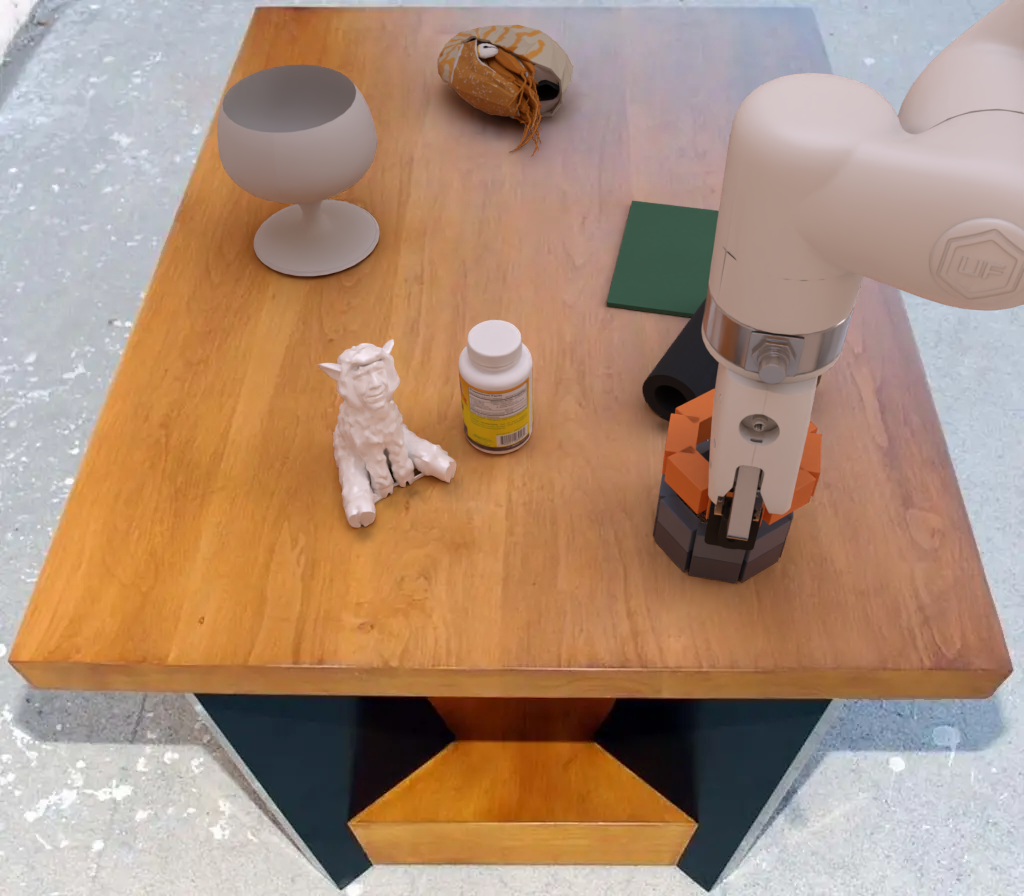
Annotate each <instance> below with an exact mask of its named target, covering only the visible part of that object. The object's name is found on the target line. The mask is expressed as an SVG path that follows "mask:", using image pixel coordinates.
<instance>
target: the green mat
mask: <svg viewBox="0 0 1024 896" xmlns="http://www.w3.org/2000/svg"><path fill="white" fill-rule="evenodd" d="M718 213H719V210H715V209H709V208H708V209H707V208H698V207H690V206H683V205H674V204H666V203H658V202H657V203H656V202H650V201H649V202H648V201H639V200H631V204H630V207H629V211H628V215H627V219H626V224H625V227H624V231H623V236H622V239H621V244H620V247H619V251H618V255H617V258H616V259H617V260H616V263H615V267H614V270H613V271H614V272H613V275H612V279H611V283H610V287H609V291H608V296H607V298H606V305H605V306H606V307H610V308H617V309H625V310H633V311H639V312H647V313H653V314H654V313H655V314H662V315H669V316H677V317H683V318H684V317H685V318H690V319H691V317H692V316H693V315H694V313H695V312H696V311H697V309H698V308H699V307H700V305H701V304H702V302H703V301H704V300H705V298H706V295H707V289H708V282H709V276H710V268H711V261H712V255H713V249H714V241H715V234H716V226H717V219H718Z"/></svg>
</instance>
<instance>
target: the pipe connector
mask: <svg viewBox="0 0 1024 896" xmlns="http://www.w3.org/2000/svg"><path fill="white" fill-rule="evenodd" d="M705 302H706V298H705V300H704V301H703V302H702V304H701V305H700V307H699V308H698V309H697V311H696V312H695V313H694V315H693V316H692V317H691V318H690V319H689V320H688V321H687V323H685V325H684V327H683V328H682V329H681V331H680V332H679V334H678V335H677V336H676V338H675V339H674V341H673V342H672V343H671V344H670V346H669V348H668V349H667V350H666V351H665V353H664V354H663V355H662V357H660V360H659V361H658V362H657V364H656V365H655V366H654V367H653V369H652V370H651V372H650V373H649V375H648V376H647V377H646V379H645V380H644V382H643V384H642V387H641V388H642V389H641V390H642V391H641V392H642V396H643V398H644V401H645V403H646V404H647V406H648V407H649V408H650V409H651V410H652V411H653V412H654V413H655V414H657V415H658V416H659V417H661V418H662V419H663V420H666V421H670V415H671V413H673V414H675V410H676V408H677V407H679V406H681V405H683V404H685V403H687V402H689V401H691V400H693V399H695V398H697V397H699V396H701V395H703V394H705V393H706V392H708V391H710V390H712V389H715V386H716V378H717V371H718V365H719V362H718V361H717V360H716V359H715V358H714V357H713V356H712V355H711V354H710V353H709V351H708V350H707V348H706V346H705V343H704V342H703V338H702V323H703V316H704V309H705ZM822 376H823V374H822V375H819V376H818V379H817V385H816V389H817V388H818V386H819V384H820V383H821V379H822Z"/></svg>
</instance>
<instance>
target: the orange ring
mask: <svg viewBox="0 0 1024 896" xmlns="http://www.w3.org/2000/svg"><path fill="white" fill-rule="evenodd" d="M714 394H715V389H712V390H710V391H708V392H706V393H705V394H703V395H701V396H699V397H697V398H695V399H693V400H691V401H689V402H687V403H685V404H683V405H681V406H679V407H677V408H676V410H675V414H673V413H671V415H670V421H669V422H668V428H667V434H666V439H665V445H664V452H663V458H662V459H663V460H662V468H661V475H662V474H665V482H666V483H667V484H668V485H669V486H670V487H671V488H672V489H673V490H674V491H675V492H676V493H677V494H678V495H679V496H680V497H681V498H682V499H683V500H684V501H683V502H684V503H686V505H687V506H688V507H689V508H690V509H691V510H692V511H693V512H694V514H695V515H699V514H701V513H703V512H704V511H705V519H706V520H708V516H709V510H710V505H711V499H710V498H709V496H708V481H709V462H708V461H707V460H706V459H705V458H704V457H703V456H702V455H701V454H700V453H699V452H698V451H697V450H696V445H698V444H700V443H702V442H704V441H706V440H709V438H711V424H712V413H713V403H714ZM822 436H823V435H822V433H818V426H817V425H815V423H813V422H812V421H811V420H810V423H809V427H808V432H807V437H806V441H805V446H804V450H803V454H802V459H801V463H800V467H799V472H798V476H797V480H796V485H795V489H794V494H793V499H792V503H791V508H790V509H789V510H788V511H787V512H786V513H785V514H783V515H779V514H772V513H769V512H768V510H767V508H766V506H765V503H764V501H763V505H762V507H763V514H762V518H761V521H762V519H763V520H764V521H765V522H766V523H767V524H768V525H771V524H772V523H774V522H776V521H777V520H779V519H781V518H783V517H784V516H786V515H788V514H790V513H791V512H793V511H794V512H795V511H797V510H798V509H800V508H802V507H804V506H805V505H807V504H809V503H810V501H811V497H814V495H815V492H816V488H817V485H818V483H819V479H820V476H821V469H822V468H821V465H822ZM726 496H729V497H733V492H727V495H726ZM760 525H761V522H760ZM759 527H760V526H759Z"/></svg>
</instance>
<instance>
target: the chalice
mask: <svg viewBox="0 0 1024 896" xmlns="http://www.w3.org/2000/svg"><path fill="white" fill-rule="evenodd" d="M216 122H217V123H216V137H217V148H218V156H219V160H220V162H221V165H222V167H223V169H224V171H225V173H226V174H227V176H228V177H229V178H230V180H231V181H233V183H234V184H236V186H237V187H239V188H240V189H242V191H243V190H244V192H246V193H248V194H249V195H251V196H253V197H254V198H258V199H261V200H264V201H268V202H273V203H277V204H282V205H289V206H287V207H283V208H282V209H280V210H278V211H276V212H274V213H273V214H271V215H270V216H269V217H268V218H267V219H266V220H264V221H263V222H262V224H260V226H259V227H258V229H257V230H256V231H255V235H254V238H253V249H254V252H255V254H256V257H257V258H258V259H259V260H260V261H261V262H262V264H264V265H265V266H266V267H268V268H270V269H271V270H274V271H276V272H279V273H282V274H285V275H291V276H295V277H317V276H325V275H331V274H333V273H338V272H341V271H344V270H347V269H348V268H351V267H353V266H356V265H357V264H358V263H360V262H361V261H363V260H364V259H366V258H367V257H368V256H369V255H370V254H371V253H372V252H373V251H374V249H375V248H376V246H377V244H378V243H379V238H380V234H381V232H380V225H379V224H378V222H377V219H376V218H375V216H373V215H372V214H371V212H369V211H368V210H366V209H364V208H363V207H361V206H359V205H357V204H354V203H351V202H348V201H344V200H337V199H330V198H334V197H336V196H338V195H340V194H342V193H343V192H345V191H347V190H348V189H351V188H352V187H354V186H355V185H356V184H357V183H358V182H360V180H362V179H363V178H364V176H365V175H366V174H367V172H368V171H369V169H370V168H371V166H372V164H373V163H374V160H375V157H376V153H377V149H378V133H377V129H376V125H375V122H374V119H373V114H372V112H371V110H370V107H369V105H368V103H367V101H366V98H365V96H364V95H363V94H362V92H361V91H360V89H359V88H358V86H357V85H356V84H355V83H354V82H353V80H352V79H350V77H349V76H347V75H345V74H343V73H342V72H340V71H338V70H336V69H333V68H330V67H326V66H321V65H315V64H287V65H279V66H274V67H273V66H272V67H270V68H266V69H262V70H258V71H257V72H254V73H251V74H249V75H247V76H245V77H243V78H242V79H240V80H238V81H237V82H236V83H235V84H233V85H232V86H231V87H230V88H229V89H228V90H227V92H226V93H225V94H224V96H223V99H222V101H221V105H220V108H219V111H218V115H217V121H216Z"/></svg>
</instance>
